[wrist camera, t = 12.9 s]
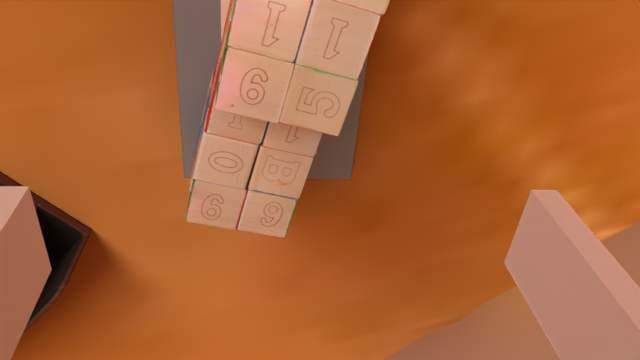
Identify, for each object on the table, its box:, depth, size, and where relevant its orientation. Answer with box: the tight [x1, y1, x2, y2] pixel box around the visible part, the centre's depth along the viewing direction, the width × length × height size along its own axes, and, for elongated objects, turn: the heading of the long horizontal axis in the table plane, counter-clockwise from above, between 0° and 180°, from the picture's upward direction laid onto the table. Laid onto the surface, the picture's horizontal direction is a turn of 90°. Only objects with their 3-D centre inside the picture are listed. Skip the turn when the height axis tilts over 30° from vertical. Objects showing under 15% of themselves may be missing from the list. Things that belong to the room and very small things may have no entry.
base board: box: [172, 0, 369, 180], centre depth 34 cm, size 27×13×2 cm, turn 175°
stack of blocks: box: [186, 0, 390, 238], centre depth 28 cm, size 21×6×12 cm, turn 162°
